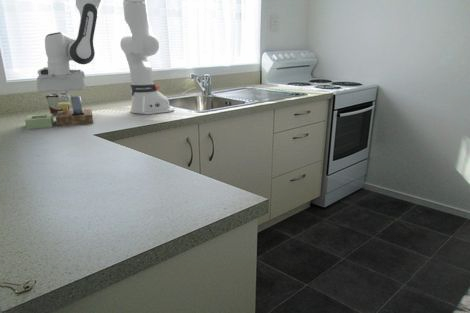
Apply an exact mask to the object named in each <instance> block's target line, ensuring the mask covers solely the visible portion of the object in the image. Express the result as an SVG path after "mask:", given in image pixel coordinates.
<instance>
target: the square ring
mask: <svg viewBox="0 0 470 313" xmlns="http://www.w3.org/2000/svg"><path fill="white" fill-rule="evenodd" d="M53 115H54V114H51V113H48V114H33V115H27V116H26V118H25V120H24V123H25V129H26V130H33V129H37V130H38V129H47V128H48V129H49V128H53V126H54V117H53Z"/></svg>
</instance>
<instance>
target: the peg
mask: <svg viewBox="0 0 470 313" xmlns="http://www.w3.org/2000/svg"><path fill="white" fill-rule="evenodd" d="M70 99H71V106H72V107H71V108H72V110H73V115H74V116H75V115H83V111H82V110H83V104H82V98H81V95H73V96H70Z"/></svg>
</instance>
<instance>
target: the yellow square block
mask: <svg viewBox="0 0 470 313" xmlns="http://www.w3.org/2000/svg"><path fill="white" fill-rule="evenodd" d="M67 106H69V107H71V106H72V103H71V102H70V101H69V102H61V103H58V107H62V108H63V113H67V112H68V109H67Z"/></svg>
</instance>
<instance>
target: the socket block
mask: <svg viewBox="0 0 470 313" xmlns="http://www.w3.org/2000/svg"><path fill="white" fill-rule="evenodd" d="M82 111H83V115H75V116H74V115H73V109H72V110H70V109H69V111H68V112H67V113H63V111H58V112H57V114H56V116H55V120H56V126H57V127H67V126H79V124H80V125H90V124H89V123H93V124H94V118H93V110H92V109H91V108H88V109H87V108H85V109H82Z"/></svg>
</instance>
